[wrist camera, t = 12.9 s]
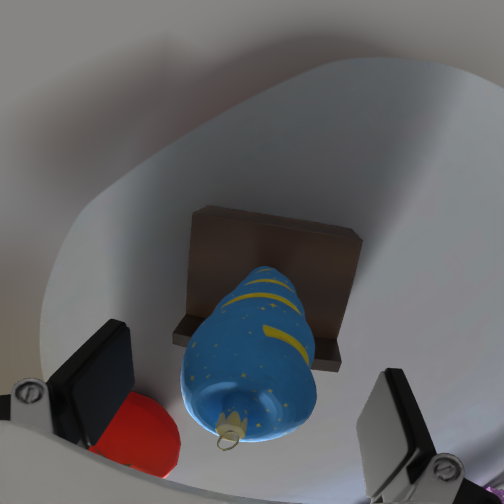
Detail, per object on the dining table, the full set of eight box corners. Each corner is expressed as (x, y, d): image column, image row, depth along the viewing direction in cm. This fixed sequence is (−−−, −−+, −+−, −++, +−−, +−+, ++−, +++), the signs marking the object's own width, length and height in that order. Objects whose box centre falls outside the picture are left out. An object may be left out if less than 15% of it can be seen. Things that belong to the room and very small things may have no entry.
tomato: (93, 392, 34) (51, 446, 23) (133, 356, 30) (82, 422, 20) (159, 446, 35) (132, 506, 24) (211, 421, 32) (187, 496, 21)
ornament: (318, 289, 22) (346, 471, 7) (254, 316, 23) (208, 495, 8) (286, 225, 21) (277, 360, 6) (221, 257, 22) (115, 404, 7)
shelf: (207, 205, 25) (177, 220, 18) (352, 228, 24) (374, 252, 17) (198, 303, 28) (172, 344, 21) (328, 325, 27) (338, 372, 20)
